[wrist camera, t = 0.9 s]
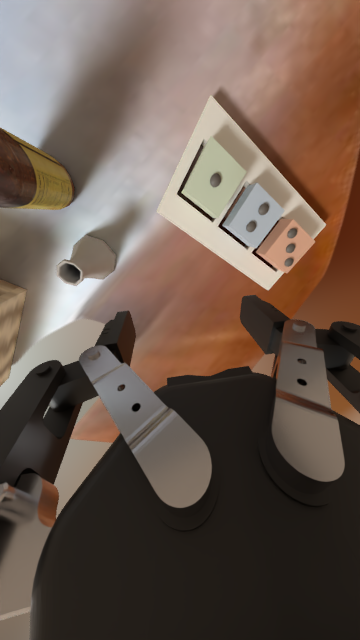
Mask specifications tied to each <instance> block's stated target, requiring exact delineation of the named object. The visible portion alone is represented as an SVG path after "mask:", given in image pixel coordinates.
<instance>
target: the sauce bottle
mask: <svg viewBox="0 0 360 640" xmlns="http://www.w3.org/2000/svg"><path fill="white" fill-rule="evenodd" d="M74 191H75V190H74V185H73V182H72V179H71V178H70V176H69V174H68V172H67V170H66V169H65V168H64V166H63V165H62V164H60V163H59V162H58V161H57V160H55V159H54V158H53V157H52V156H50V155H48V154H47V153H45V152H43V151H42V150H40V149H38V148H36V147H34V146H32V145H31V144H29V143H27V142H25V141H23V140H22V139H20V138H18V137H16V136H14V135H13V134H11V133H9V132H7V131H5V130H4V129H2V128H0V207H3V208H28V209H50V210H59V209H62V208H64V207H67V206H69V205H70V204H71V202H72V199H73V197H74Z"/></svg>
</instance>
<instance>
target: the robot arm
mask: <svg viewBox="0 0 360 640" xmlns="http://www.w3.org/2000/svg"><path fill="white" fill-rule="evenodd" d="M240 320H241V323H242V324H243V326H244V327H245V328H246V330H247V331H248V332H249V333H250V335H251V336H252V337H253V339H254V340H255V341H256V342H257V344H258V345H259V346H260V348H261V349H262V350H263V351H264V353H265V354H272V353H274V354H275V358H274V362H273V367H272V373H271V377H270V376H267V375H264V374H259V373H253V372H252V371H251V369H250V368H249V366H246V367H239V368H232V369H228V370H225V371H223V372H220V373H217V374H215V375H212V376H194V375H184V376H178V377H171V378H167V385H165V386H163V387H161V388H159V389H158V390H156V391H155V392H154V393H153V391H152V390H151V389H150V388H149V387H148V386H147V385H146V384H145V383H144V382H143V381H142V380H141V379H140V378H139V377H138V376H137V374H136V373H135V372H134V371H133V370H132V369H131V368H130V363H131V358H132V353H133V348H134V343H135V338H136V333H135V328H134V325H133V321H132V318H131V314H130V312H129V311H123V312H117V314H116V316H115V319H114V320H110V321H109V322H108V323H107V324H106V325H105V327H104V329H103V331H102V333H101V335H100V337H99V338H98V340H97V342H96V344H95V346H94V347H91V348H89V349H87V350H86V351H84V352H83V353H82V354H81V356H80V357H79V361H76V362H73V363H71V364H68V365H65V366H62V364H61V363H60V362H59V361H57V360H52V361H47V362H45V363H42V364H40V365H38V366H37V367H35V368H34V369H33V370H32V371H30V373H29V374H28V375H27V376H26V377H25V379H24V380H23V381H22V383H21V384H20V385H19V387H18V388H17V389H16V390H15V392H14V393H13V394H12V396H11V397H10V398H9V399H8V401H7V402H6V403H5V405H4V406H3V407H2V409H1V410H0V620H3V619H7V618H10V617H13V616H17V615H20V614H23V613H27V612H29V611H30V639H29V640H360V425H358V424H357V423H355V422H353V421H351V420H349V419H347V418H345V417H344V416H342V415H340V414H338V413H336V412H335V411H333V410H332V409H331V404H330V397H329V390H328V383H327V380H328V381H329V382H330V383H331V384H332V385H333V386H334V387H335V388H336V389H337V390H338V391H339V392H340V393H341V394H342V395H343V396H344V397H345V398H346V399H347V400H348V401H349V403H350V404H352V405H353V407H354V408H355V409H356V410H357V411H358V412H359V413H360V373H359V372H358V371H357V370H356V369H355V368H353V367H352V366H351V365H350V363H351V361H352V360H353V358H354V357H357V358H358V359H359V360H360V326H359V325H356V324H353V323H349V322H342V321H340V322H339V321H338V322H334V323H332V324H331V326H330V329H329V330H326V329H315V328H314V326H313V325H312V324H310V323H308V322H306V321H303V320H297V319H289V318H288V317H287V316H285V315H284V314H283V313H282V312H280V311H279V310H278V309H276V308H275V307H274V306H273V305H271V304H270V303H268V302H265V301H262V300H261V299H260V298H258V297H257V296H256V295H249V296H244V297H243V298H242V304H241V312H240ZM96 396H99V397H100V399H101V401H102V402H103V404H104V406H105V407H106V409H107V411H108V413H109V414H110V416H111V418H112V419H113V421H114V423H115V425H116V426H117V428H118V430H119V432H120V434H119V436H118V437H117V438H116V440H115V441H114V442H113V444H112V445H111V446H110V447H109V449H108V450H107V451H106V453H105V454H104V455H103V457H102V458H101V459H100V460H99V462H98V463H97V464H96V466H95V467H94V468H93V470H92V471H91V472H90V474H89V475H88V476H87V477H86V479H85V480H84V481H83V483H82V484H81V485H80V486H79V488H78V489H77V491H76V492H75V493H74V494H73V496H72V497H71V498H70V499H69V501H68V502H67V504H66V505H65V506H64V508H63V509H62V511H61V513H60V514H59V516H58V517H57V519H56V510H57V505H58V500H59V493H58V490H57V488H56V487H55V486H54V482H55V479H56V476H57V474H58V471H59V468H60V465H61V462H62V460H63V457H64V454H65V451H66V448H67V445H68V443H69V440H70V437H71V434H72V431H73V429H74V426H75V423H76V420H77V417H78V414H79V412H80V409H81V406H82V403H83V402H84V401H87V400H89V399H92V398H94V397H96ZM48 406H50V407H49V409H48V411H47V413H46V415H45V417H44V419H43V416H44V413H45V411H46V409H47V407H48Z"/></svg>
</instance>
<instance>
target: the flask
mask: <svg viewBox="0 0 360 640" xmlns="http://www.w3.org/2000/svg"><path fill="white" fill-rule="evenodd" d="M115 260H116V254H115V253H114V252H113V251H112V250H111V249H110V247H109V246H108V245H107V244H106V243H105V242H104V241H103V240H100V239H97V238H94V237H91V236H88V235H85V236H84V237H83V238H82V239H80V240H79V241H78V242H77V243H76V244H75V245H74V247H73V252H72V256H71V259H70V260H66V259H64V260H63V261H62V262H60V263H59V264H58V265H57V276H58V277H59V278H60V279H61V280H62V281H63V282H65V283H66V284H70V285H74V286H77V285H78V284H79V283H80V282H81V281H83V279H84V278H95V279H102V280H103V279H104V278H105V277H107V276H108V275H109V274H110V273H112V272H113V271H114V267H115Z"/></svg>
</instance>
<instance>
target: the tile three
mask: <svg viewBox="0 0 360 640" xmlns="http://www.w3.org/2000/svg"><path fill="white" fill-rule="evenodd" d="M314 243H315V241H314V240H313V239H312V238H311V237H310V236H309V235H308V234H307V233H306V232H305V231H304V230H303V229H302V228H301V227H300V226H299V224H298V223H297V222H296V221H295V220H294V219H281V220H280V221H279V222H278V224H277V225H276V226H275V228H274V229H273V230H272V231H271V233H270V234H269V235H268V237H267V238H266V239H265V241H264V242H263V243H262V245H261V246H260V247H259V248H258V250H257V251H256V253H257V254H259V255H260V256H261V257H262V258H264V259H265V260H266V261H267V262H269V263H270V264H271V265H272V266H274V267H275V268H276V269H278V270H280V271H283V272H285V273H288V272H289V271H290V270H291V268H292V267H293V266H294V265H295V264H296V263H297V262H298V261H299V259H300V258H301V257H302V256H303V255H304V254H305V253H306V252H307V250H308V249H309V248H310V247H311V246H312V245H313V244H314Z"/></svg>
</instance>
